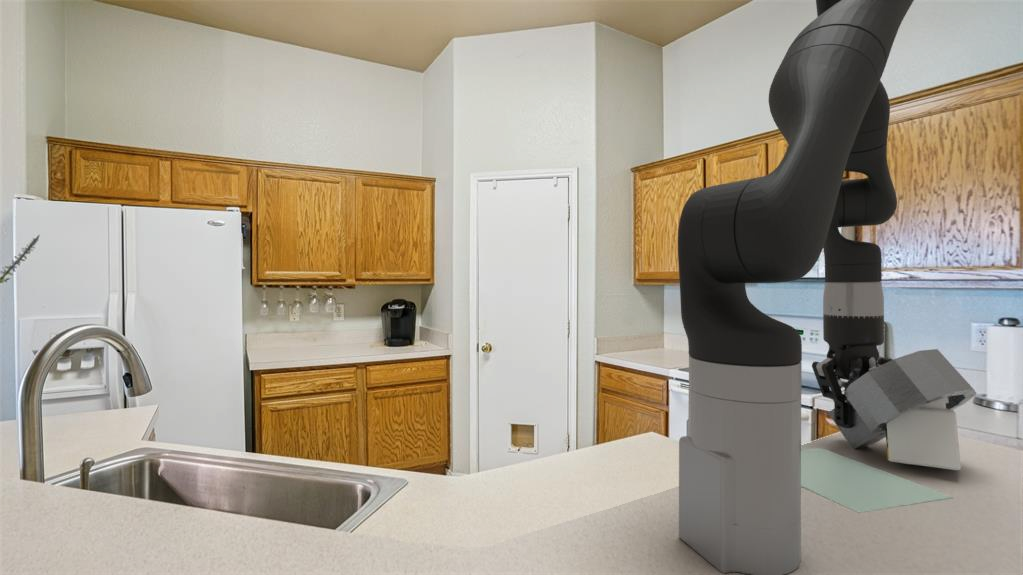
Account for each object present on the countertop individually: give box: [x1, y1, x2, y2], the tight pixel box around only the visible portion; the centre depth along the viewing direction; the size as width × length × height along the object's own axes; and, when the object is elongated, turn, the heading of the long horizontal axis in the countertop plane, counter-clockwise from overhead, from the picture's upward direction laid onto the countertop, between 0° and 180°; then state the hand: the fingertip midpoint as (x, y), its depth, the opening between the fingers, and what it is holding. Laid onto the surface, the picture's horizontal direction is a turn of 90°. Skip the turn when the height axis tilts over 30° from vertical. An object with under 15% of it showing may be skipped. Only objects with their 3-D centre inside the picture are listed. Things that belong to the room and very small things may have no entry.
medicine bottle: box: [885, 397, 962, 471], centre depth 65 cm, size 7×7×12 cm
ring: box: [827, 348, 978, 450], centre depth 68 cm, size 12×18×6 cm
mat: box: [801, 447, 954, 514], centre depth 61 cm, size 14×17×1 cm
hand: (853, 425), depth 73 cm, fingers closed on ring, 3 cm apart
